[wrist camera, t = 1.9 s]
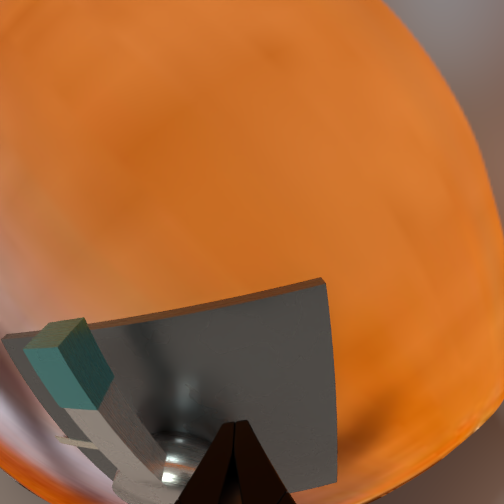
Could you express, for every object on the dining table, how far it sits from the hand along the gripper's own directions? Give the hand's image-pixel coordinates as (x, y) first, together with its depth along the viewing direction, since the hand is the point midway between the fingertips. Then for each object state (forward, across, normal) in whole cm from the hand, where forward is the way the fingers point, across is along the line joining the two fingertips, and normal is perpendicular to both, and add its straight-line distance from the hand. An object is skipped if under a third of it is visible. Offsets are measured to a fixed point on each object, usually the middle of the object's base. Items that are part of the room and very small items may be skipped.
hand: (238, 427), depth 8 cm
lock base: (+6, +6, +9) cm, 13 cm away
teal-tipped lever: (+3, +6, +5) cm, 9 cm away
